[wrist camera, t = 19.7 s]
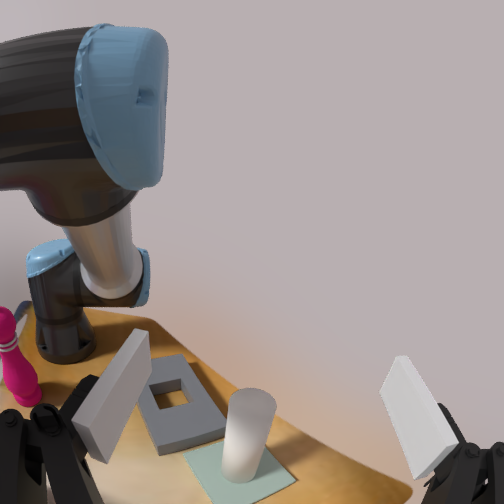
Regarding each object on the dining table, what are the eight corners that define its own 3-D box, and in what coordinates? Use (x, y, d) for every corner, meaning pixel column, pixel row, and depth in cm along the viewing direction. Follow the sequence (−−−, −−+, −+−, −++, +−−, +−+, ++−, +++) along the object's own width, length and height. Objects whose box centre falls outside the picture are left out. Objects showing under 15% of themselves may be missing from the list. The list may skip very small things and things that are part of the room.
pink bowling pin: (42, 410, 32) (4, 312, 26) (10, 407, 29) (-31, 311, 23) (46, 383, 38) (17, 290, 32) (16, 381, 35) (-16, 290, 29)
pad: (183, 455, 33) (182, 453, 33) (250, 432, 39) (251, 430, 39) (222, 516, 23) (222, 515, 23) (295, 482, 30) (296, 480, 30)
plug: (214, 464, 32) (220, 395, 27) (243, 453, 34) (259, 383, 30) (232, 488, 28) (245, 427, 23) (262, 475, 30) (285, 410, 26)
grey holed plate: (126, 374, 47) (124, 363, 46) (182, 364, 54) (182, 353, 53) (159, 455, 32) (156, 446, 31) (229, 435, 38) (230, 424, 37)
